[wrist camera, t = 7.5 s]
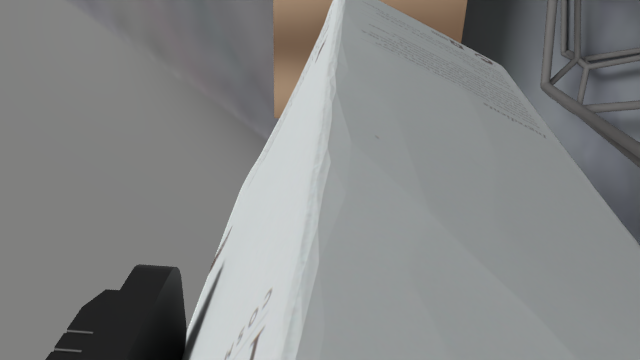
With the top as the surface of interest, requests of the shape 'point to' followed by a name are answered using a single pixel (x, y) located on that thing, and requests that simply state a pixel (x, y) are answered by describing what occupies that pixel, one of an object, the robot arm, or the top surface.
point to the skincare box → (415, 218)
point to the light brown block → (308, 20)
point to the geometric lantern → (613, 135)
